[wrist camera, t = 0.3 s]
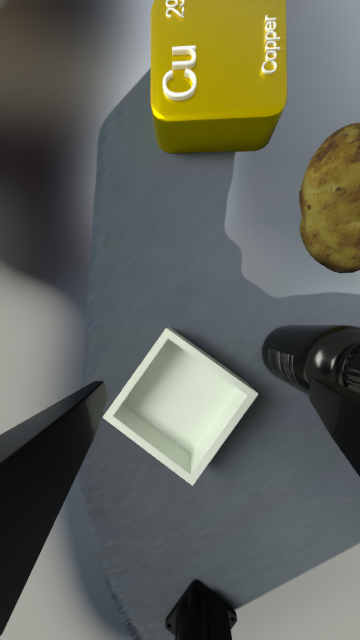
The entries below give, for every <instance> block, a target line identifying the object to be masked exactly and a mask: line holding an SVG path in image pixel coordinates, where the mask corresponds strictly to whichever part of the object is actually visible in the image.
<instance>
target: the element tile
mask: <svg viewBox="0 0 360 640" xmlns="http://www.w3.org/2000/svg"><path fill="white" fill-rule="evenodd" d="M286 50H287V46H286V0H155V1H154V3H153V5H152V9H151V109H152V115H153V121H154V127H155V134H156V140H157V143H158V146H159V148H160V149H162V150H163V151H165V152H167V153H193V152H218V151H236V152H245V151H246V152H247V151H258V150H260V149H262V148H264V147H265V146H266V145H267V144H268V143H269V140H270V138H271V136H272V134H273V132H274V129H275V127H276V125H277V123H278V120H279V118H280V116H281V114H282V112H283V109H284V107H285V104H286V101H287V51H286Z"/></svg>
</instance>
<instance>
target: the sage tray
mask: <svg viewBox="0 0 360 640" xmlns="http://www.w3.org/2000/svg"><path fill="white" fill-rule="evenodd" d="M257 395H258V393H257V392H256V391H255V390H254V389H253V388H252V387H251V386H250V385H249V384H248V383H247V382H246V381H244V380H243V379H242V378H240V377H239V376H237V375H236V374H235V373H233V372H232V371H231V370H229V369H228V368H226V367H225V366H224V365H222V364H221V363H219V362H218V361H217V360H215V359H214V358H212V357H211V356H210V355H208V354H207V353H205V352H204V351H203V350H201V349H200V348H198V347H197V346H196V345H194V344H193V343H191V342H190V341H189V340H187V339H186V338H184V337H183V336H182V335H180V334H179V333H177V332H176V331H175V330H173V329H172V328H171V327H168V328H166V329H165V331H164V332H163V333H162V335H161V336H160V338H159V339H158V340H157V342H156V343H155V345H154V346H153V347H152V349H151V350H150V352H149V353H148V354H147V356H146V357H145V359H144V360H143V361H142V363H141V364H140V366H139V367H138V368H137V370H136V371H135V373H134V374H133V376H132V377H131V378H130V380H129V381H128V383H127V384H126V385H125V387H124V388H123V390H122V391H121V392H120V394H119V395H118V397H117V398H116V399H115V401H114V402H113V404H112V405H111V406H110V408H109V409H108V411H107V412H106V413H105V415H104V416H103V418H104V419H105V420H107V421H108V422H109V423H111V424H112V425H113V426H114V427H116V428H117V429H118V430H120V431H121V432H122V433H124V434H125V435H126V436H128V437H129V438H130V439H132V440H133V441H134V442H136V443H137V444H138V445H139V446H141V447H142V448H143V449H145V450H146V451H147V452H149V453H150V454H151V455H153V456H154V457H155V458H157V459H158V460H159V461H161V462H162V463H163V464H164V465H166V466H167V467H168V468H170V469H171V470H172V471H174V472H175V473H176V474H178V475H179V476H180V477H182V478H183V479H184V480H186V481H187V482H188V483H189V484H191V485H192V486H193V484H194V483H195V482H196V480H197V479H198V477H199V476H200V475H201V473H202V472H203V470H204V469H205V468H206V466H207V465H208V464H209V462H210V461H211V459H212V458H213V457H214V455H215V454H216V452H217V451H218V450H219V448H220V447H221V445H222V444H223V443H224V441H225V440H226V438H227V437H228V436H229V434H230V433H231V432H232V430H233V429H234V427H235V426H236V425H237V423H238V422H239V420H240V419H241V418H242V416H243V415H244V413H245V412H246V411H247V409H248V408H249V406H250V405H251V404H252V402H253V401H254V400H255V398H256V397H257Z"/></svg>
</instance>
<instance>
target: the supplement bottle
mask: <svg viewBox="0 0 360 640" xmlns="http://www.w3.org/2000/svg"><path fill="white" fill-rule="evenodd" d="M262 358H263V361H264V364H265V366H266V367H267V369H268V370H269V371H270V372H271V373H272V374H273V375H274V376H276V377H277V378H279V379H281V380H282V381H284V382H286V383H288V384H289V385H291V386H293V387H295V388H297V389H298V390H300V391H302V392H304V393H305V394H307V395H309V390H310V386H311V381H312V380H313V379H315V378H323V379H327V380H329V381H332V382H334V383H337V384H339V385H342V386H344V387H347V388H349V389H351V390H354V391H356V392H359V393H360V327H356V326H347V325H289V326H282V327H279V328H277V329H275V330H274V331H272V332H271V333H270V334H269V335H268V336H267V337H266V339H265V341H264V343H263V347H262Z"/></svg>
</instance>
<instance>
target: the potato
mask: <svg viewBox="0 0 360 640" xmlns="http://www.w3.org/2000/svg"><path fill="white" fill-rule="evenodd" d="M299 193H300V194H299V198H300V201H299V203H300V208H301V213H302V219H301V223H300V234H301V237H302V240H303V243H304V245H305V247H306V249H307V251H308V252H309V253H310V255H311V256H312V257H313V258H314V259H315V260H316V261H317V262H319V263H320V264H322V265H323V266H325V267H326V268H328V269H330V270H332V271H334V272H338V273H349V272H350V273H353V272H355V271H358V270H360V123H355V124H350V125H347V126H345V127H342V128H341V129H339V130H337V131H336V132H334V133H333V134H332V135H330V136H329V137H328V138H327V139H326V140H325V141H324V142H323V144H322V145H321V146H320V147H319V149H318V150H317V152H316V153H315V155H314V156H313V157H312V159H311V160H310V163H309V165H308V167H307V170H306V172H305V175H304V178H303V182H302V186H301V190H300V192H299Z"/></svg>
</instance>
